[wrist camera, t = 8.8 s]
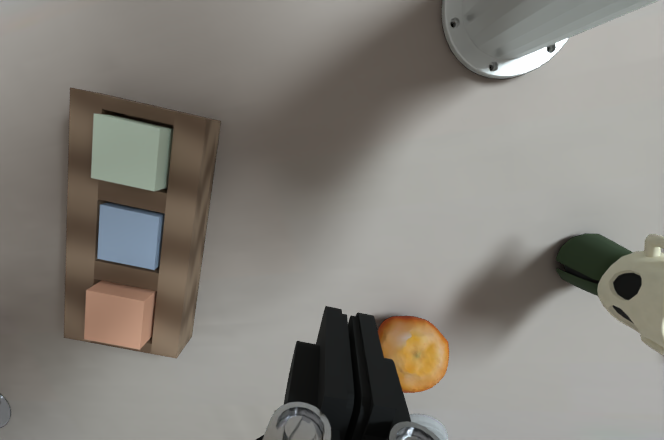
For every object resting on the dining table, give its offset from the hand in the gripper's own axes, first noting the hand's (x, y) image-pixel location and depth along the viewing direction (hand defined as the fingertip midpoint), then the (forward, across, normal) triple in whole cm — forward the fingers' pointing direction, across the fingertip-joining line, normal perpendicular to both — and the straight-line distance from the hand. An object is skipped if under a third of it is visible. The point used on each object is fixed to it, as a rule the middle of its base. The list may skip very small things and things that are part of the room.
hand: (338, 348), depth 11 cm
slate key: (+24, +19, +7) cm, 31 cm away
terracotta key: (+22, +19, +15) cm, 33 cm away
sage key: (+22, +19, -1) cm, 29 cm away
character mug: (+25, -29, 0) cm, 38 cm away
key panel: (+25, +19, +7) cm, 32 cm away
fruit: (+25, -12, +14) cm, 31 cm away
